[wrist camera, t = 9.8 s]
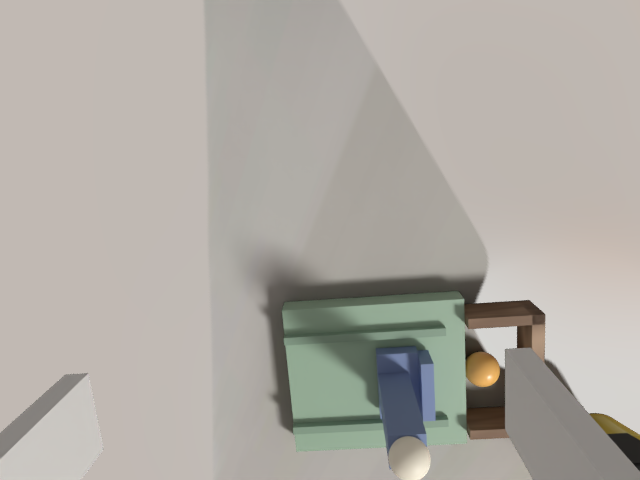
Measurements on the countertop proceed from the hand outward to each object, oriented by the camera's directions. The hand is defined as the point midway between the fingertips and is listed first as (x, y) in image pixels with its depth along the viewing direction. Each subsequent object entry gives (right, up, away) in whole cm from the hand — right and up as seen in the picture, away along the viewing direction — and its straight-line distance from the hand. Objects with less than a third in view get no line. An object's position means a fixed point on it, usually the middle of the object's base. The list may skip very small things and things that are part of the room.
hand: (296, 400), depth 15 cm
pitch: (+7, -9, +37) cm, 39 cm away
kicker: (+9, -9, +35) cm, 37 cm away
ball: (+17, -8, +35) cm, 40 cm away
